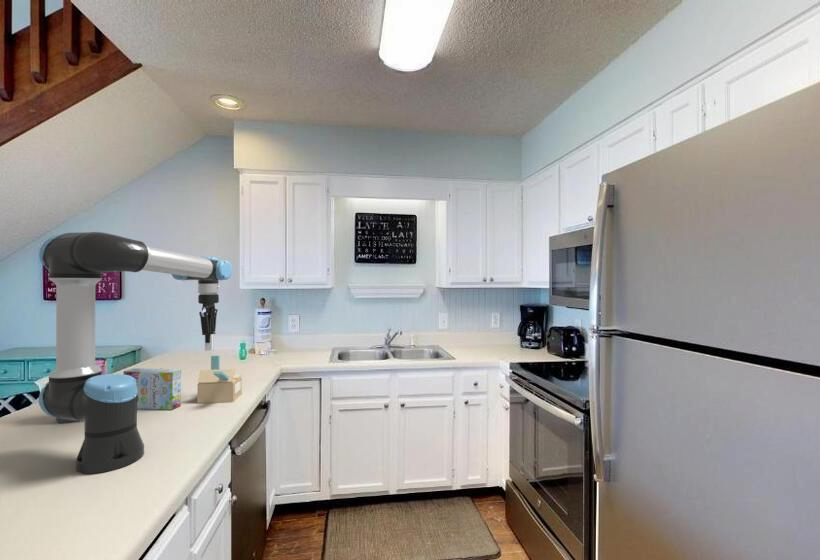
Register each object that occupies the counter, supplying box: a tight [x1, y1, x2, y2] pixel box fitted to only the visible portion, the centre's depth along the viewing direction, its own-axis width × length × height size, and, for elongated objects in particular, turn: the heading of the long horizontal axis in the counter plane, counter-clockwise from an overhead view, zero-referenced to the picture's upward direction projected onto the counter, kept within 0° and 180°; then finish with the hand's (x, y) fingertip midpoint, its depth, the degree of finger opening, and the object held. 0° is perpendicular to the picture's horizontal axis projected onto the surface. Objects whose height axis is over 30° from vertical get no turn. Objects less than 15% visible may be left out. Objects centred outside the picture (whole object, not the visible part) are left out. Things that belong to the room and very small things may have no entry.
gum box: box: [95, 357, 108, 375], centre depth 168 cm, size 24×8×14 cm, turn 36°
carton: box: [197, 375, 243, 404], centre depth 162 cm, size 11×14×8 cm
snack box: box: [123, 367, 182, 411], centre depth 151 cm, size 21×6×15 cm, turn 84°
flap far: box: [210, 354, 242, 379], centre depth 164 cm, size 5×14×10 cm, turn 97°
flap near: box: [197, 368, 236, 384], centre depth 154 cm, size 5×14×10 cm
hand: (209, 350), depth 158 cm, fingers closed
